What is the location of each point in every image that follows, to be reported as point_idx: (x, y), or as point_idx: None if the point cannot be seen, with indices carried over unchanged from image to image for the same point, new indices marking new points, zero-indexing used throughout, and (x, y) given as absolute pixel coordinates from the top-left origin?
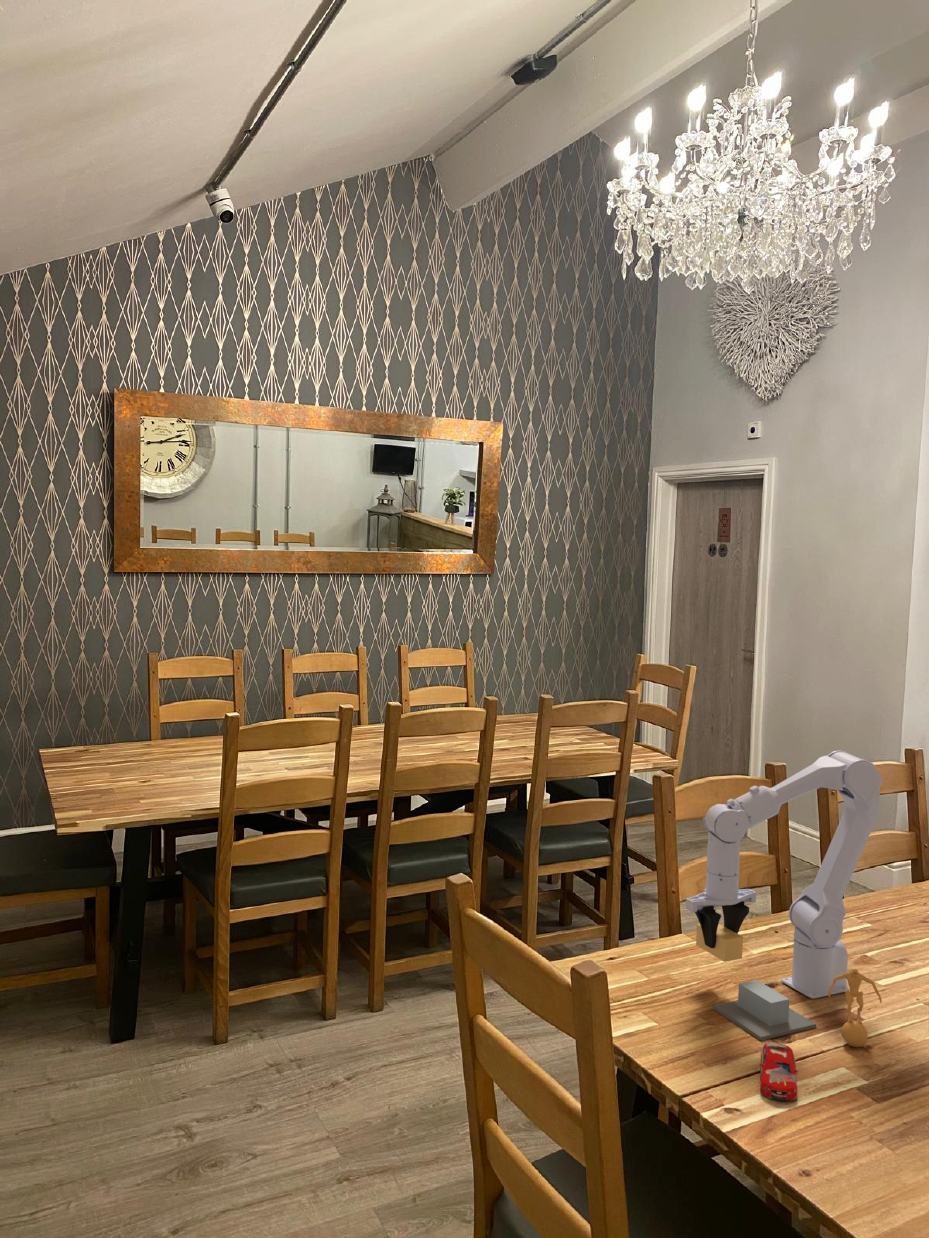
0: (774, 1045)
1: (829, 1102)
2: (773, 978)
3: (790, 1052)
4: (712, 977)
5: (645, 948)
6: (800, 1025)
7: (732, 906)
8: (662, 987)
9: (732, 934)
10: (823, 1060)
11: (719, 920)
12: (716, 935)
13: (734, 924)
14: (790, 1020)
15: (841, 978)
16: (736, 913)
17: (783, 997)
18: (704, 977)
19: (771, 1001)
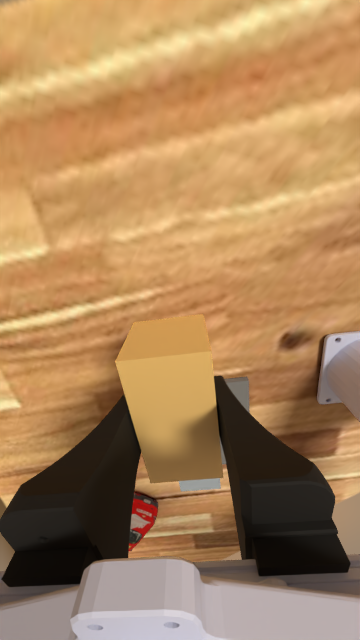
0: (132, 524)
1: (152, 541)
2: (324, 316)
3: (139, 541)
4: (199, 281)
5: (103, 18)
6: (225, 460)
7: (245, 556)
8: (68, 298)
9: (200, 460)
10: (198, 503)
11: (129, 536)
12: (139, 455)
13: (228, 470)
14: (222, 448)
15: None
16: (239, 538)
17: (214, 483)
18: (181, 276)
19: (185, 487)
